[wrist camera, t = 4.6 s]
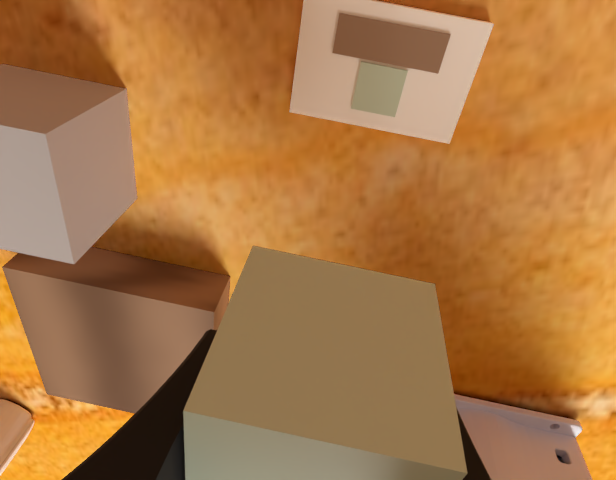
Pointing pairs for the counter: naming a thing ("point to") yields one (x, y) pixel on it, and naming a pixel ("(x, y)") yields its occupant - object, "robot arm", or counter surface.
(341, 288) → the sage cube
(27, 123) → the grey cube
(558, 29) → the counter surface
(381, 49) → the card
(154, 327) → the walnut slab
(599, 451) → the counter surface
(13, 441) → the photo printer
